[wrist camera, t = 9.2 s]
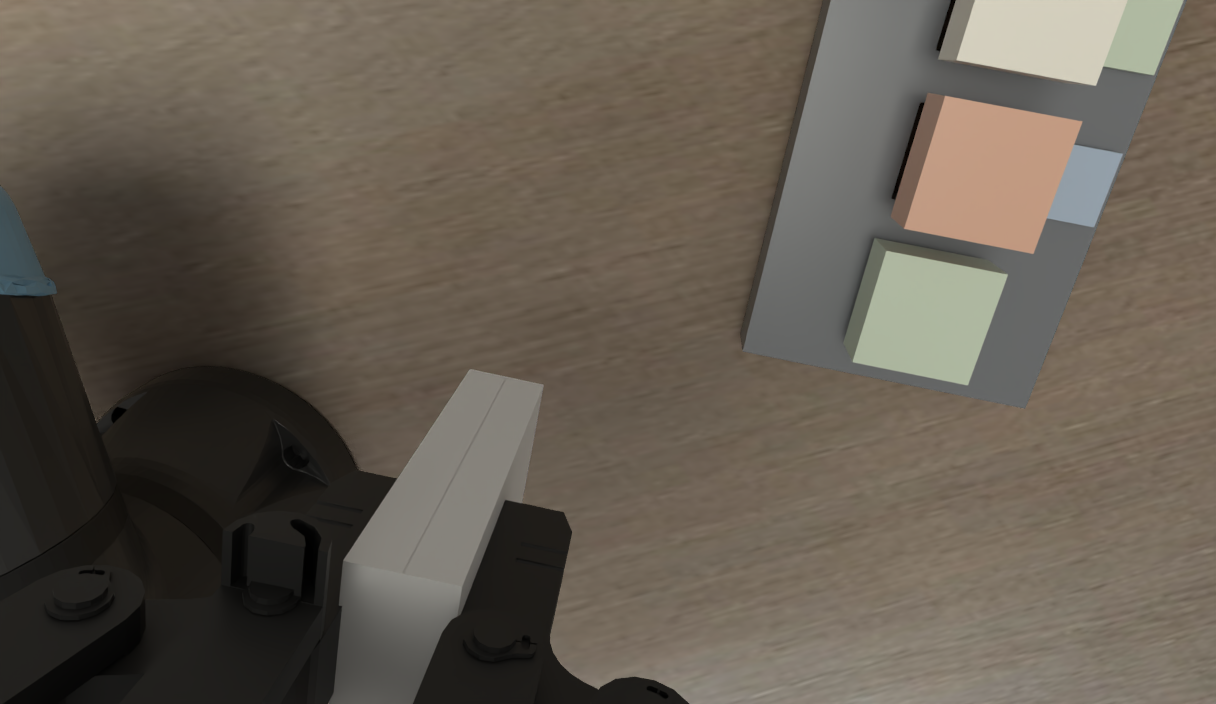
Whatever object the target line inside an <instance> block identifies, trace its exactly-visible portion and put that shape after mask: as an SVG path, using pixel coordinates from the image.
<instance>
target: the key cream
mask: <svg viewBox="0 0 1216 704" xmlns="http://www.w3.org/2000/svg"><path fill="white" fill-rule="evenodd" d="M1127 1H1128V0H956V1H955V5H954V8H953V11H952V14H951V18H950V21H949V24H948V28H947V31H946V34H945V38H944V41H943V44H942V48H941V51H940V54H939V58H938V60H944V61H949V62H954V63H960V64H965V65H971V66H976V67H981V68H987V69H992V70H998V71H1003V72H1008V73H1014V74H1019V75H1025V76H1030V77H1035V78H1041V79H1046V80H1052V81H1057V82H1062V83H1069V84H1080V85H1092V86H1096V84H1097V82H1098V79H1099V76H1100V74H1101V71H1102V68H1103V65H1104V63H1105V60H1106V57H1107V55H1108V52H1109V49H1110V47H1111V44H1112V41H1113V39H1114V36H1115V33H1116V31H1117V28H1118V25H1119V22H1120V20H1121V17H1122V14H1123V12H1124V9H1125V6H1126V4H1127Z"/></svg>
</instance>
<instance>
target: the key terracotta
mask: <svg viewBox="0 0 1216 704" xmlns="http://www.w3.org/2000/svg"><path fill="white" fill-rule="evenodd" d="M1082 122H1083V121H1077V120H1072V119H1067V118H1061V117H1056V116H1051V115H1045V114H1040V113H1035V112H1029V111H1024V110H1018V109H1013V108H1008V107H1002V106H997V105H992V104H986V103H981V102H976V101H970V100H965V99H960V98H954V97H949V96H944V95H938V94H933V93H928V94H927V97H926V101H925V104H924V107H923V111H922V114H921V117H920V120H919V124H918V127H917V130H916V134H915V137H914V140H913V144H912V147H911V150H910V154H909V157H908V160H907V164H906V167H905V170H904V173H903V177H902V180H901V183H900V187H899V190H898V193H897V197H896V200H895V203H894V207H893V210H892V213H891V218H892V219H894V220H895V221H896V222H897V223H898V224H899V225H900V226H902V227H903V228H904V229H908V230H913V231H918V232H923V233H928V234H933V235H938V236H944V237H949V238H954V239H959V240H964V241H969V242H974V243H980V244H985V245H990V246H995V247H1000V248H1005V249H1010V250H1016V251H1021V252H1026V253H1031V254H1034V251H1035V248H1036V246H1037V243H1038V240H1039V238H1040V235H1041V232H1042V230H1043V227H1044V224H1045V221H1046V219H1047V216H1048V213H1049V211H1050V208H1051V205H1052V203H1053V200H1054V197H1055V195H1056V192H1057V189H1058V187H1059V184H1060V181H1061V178H1062V176H1063V173H1064V170H1065V168H1066V165H1067V162H1068V160H1069V157H1070V154H1071V152H1072V149H1073V146H1074V143H1075V141H1076V138H1077V135H1078V133H1079V130H1080V127H1081V125H1082Z"/></svg>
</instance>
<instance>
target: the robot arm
mask: <svg viewBox="0 0 1216 704" xmlns="http://www.w3.org/2000/svg"><path fill="white" fill-rule="evenodd" d="M56 293H57V290H56V286H55V283H54V281H52V280H51V279H49V278H47V277H45V275H44V273H43V270H42V268H41V266H40V263H39V261H38V258H37V256H36V254H35V251H34V249H33V247H32V244H31V242H30V240H29V237H28V235H27V233H26V230H25V228H24V226H23V223H22V221H21V219H20V216H19V214H18V212H17V209H16V207H15V205H14V203H13V201H12V200H11V198H10V196H9V195H8V194H7V192H6V191H5V190H4V189H3V188H2V187H1V186H0V704H328V702H329V704H689V703H688V702H687V701H686V700H685V699H683V698H682V697H681V696H680V695H679V694H678V693H677V692H676V691H675V690H673V689H671V688H669V687H667V686H665V685H663V684H661V683H659V682H657V681H655V680H649V679H644V678H638V677H629V678H620V679H615V680H613V681H611V682H609V683H607V684H605V685H604V686H602V687H600V689H599V690H598V689H596V688H594V687H592V686H590V685H588V684H586V683H584V682H583V681H581V680H580V679H578V678H576V677H575V676H573V675H572V674H570V673H569V672H568V671H567V670H566V669H565V668H564V667H563V666H562V665H561V664H560V663H559V661H558V660H557V658H556V657H555V655H554V654H553V651H552V648H551V644H550V633H551V629H552V624H553V619H554V615H555V610H556V606H557V601H558V596H559V592H560V587H561V582H562V577H563V573H564V568H565V563H566V559H567V554H568V549H569V544H570V540H571V535H572V531H571V528H570V526H569V524H568V521H567V519H566V517H565V514H564V512H560V511H555V510H550V509H546V508H541V507H536V506H532V505H527V504H522V501H523V496H524V490H525V485H526V480H527V474H528V469H529V463H530V458H531V452H532V447H533V441H534V436H535V431H536V425H537V420H538V414H539V409H540V403H541V398H542V392H543V387H544V385H543V384H538V383H534V382H529V381H524V380H520V379H515V378H510V377H506V376H501V375H496V374H492V373H487V372H482V371H478V370H473V369H470V370H469V371H468V373H467V374H466V376H465V377H464V379H463V380H462V382H461V383H460V385H459V386H458V388H457V389H456V391H455V392H454V394H453V395H452V397H451V398H450V400H449V401H448V403H447V404H446V406H445V407H444V409H443V410H442V412H441V413H440V415H439V416H438V418H437V420H436V421H435V423H434V424H433V426H432V427H431V429H430V430H429V432H428V433H427V435H426V436H425V438H424V439H423V441H422V442H421V444H420V445H419V447H418V448H417V450H416V451H415V453H414V454H413V456H412V457H411V459H410V460H409V462H408V463H407V465H406V466H405V468H404V469H403V471H402V472H401V474H400V475H399V477H398V478H397V479H396V478H391V477H386V476H382V475H377V474H373V473H368V472H363V471H359V470H356V468H355V465H354V463H353V461H352V459H351V456H350V455H349V453H348V451H347V449H346V447H345V446H344V444H343V443H342V441H341V440H340V438H339V437H338V435H337V434H336V433H335V431H334V430H333V429H332V428H331V426H330V425H329V424H328V423H327V422H326V421H325V420H324V419H323V418H322V417H321V416H320V415H319V414H318V413H317V412H316V411H315V410H314V409H313V408H312V407H311V406H309V405H308V404H307V403H306V402H304V401H303V400H302V399H300V398H299V397H298V396H296V395H295V394H293V393H292V392H290V391H288V390H287V389H285V388H283V387H281V386H280V385H278V384H276V383H274V382H271V381H269V380H267V379H265V378H262V377H260V376H257V375H254V374H251V373H248V372H244V371H240V370H235V369H230V368H222V367H192V368H185V369H181V370H176V371H173V372H170V373H167V374H164V375H162V376H159V377H157V378H155V379H153V380H152V381H150V382H148V383H147V384H145V385H143V386H142V387H140V388H138V389H137V390H135V391H133V392H132V393H130V394H128V395H127V396H125V397H124V398H122V399H121V400H120V401H118V402H117V403H116V404H115V405H114V406H113V407H111V408H110V409H109V410H108V411H107V412H106V413H105V414H104V415H103V417H102V418H101V419H100V420H99V422H98V423H97V424H96V421H95V418H94V415H93V413H92V410H91V407H90V404H89V401H88V398H87V395H86V393H85V390H84V387H83V384H82V381H81V378H80V375H79V373H78V370H77V367H76V364H75V361H74V358H73V355H72V352H71V350H70V347H69V344H68V341H67V338H66V335H65V332H64V330H63V327H62V324H61V321H60V318H59V315H58V312H57V310H56V307H55V304H54V301H53V298H52V295H51V294H56Z"/></svg>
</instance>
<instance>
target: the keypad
mask: <svg viewBox="0 0 1216 704" xmlns="http://www.w3.org/2000/svg"><path fill="white" fill-rule="evenodd" d="M950 1H951V0H823V3H822V7H821V11H820V15H819V19H818V23H817V27H816V31H815V35H814V39H813V43H812V48H811V52H810V56H809V60H808V64H807V68H806V72H805V76H804V80H803V84H802V88H801V92H800V96H799V100H798V104H797V108H796V112H795V116H794V120H793V124H792V128H791V132H790V136H789V140H788V144H787V148H786V152H785V156H784V160H783V164H782V169H781V173H780V177H779V181H778V185H777V189H776V193H775V197H774V201H773V205H772V209H771V213H770V217H769V221H768V225H767V229H766V233H765V237H764V241H763V245H762V249H761V253H760V257H759V261H758V265H757V269H756V273H755V277H754V281H753V285H752V290H751V294H750V298H749V302H748V306H747V310H746V314H745V318H744V322H743V326H742V330H741V342H742V350H743V352H748V353H753V354H758V355H763V356H768V357H773V358H778V359H782V360H787V361H792V362H797V363H802V364H807V365H812V366H817V367H822V368H827V369H832V370H837V371H842V372H847V373H852V374H857V375H862V376H866V377H871V378H876V379H881V380H886V381H891V382H896V383H901V384H906V385H911V386H916V387H921V388H926V389H931V390H936V391H941V392H945V393H950V394H955V395H960V396H965V397H970V398H975V399H980V400H985V401H990V402H995V403H1000V404H1005V405H1010V406H1015V407H1020V408H1026V405H1027V403H1028V400H1029V398H1030V395H1031V393H1032V390H1033V387H1034V385H1035V382H1036V380H1037V377H1038V375H1039V372H1040V370H1041V367H1042V365H1043V362H1044V360H1045V357H1046V355H1047V352H1048V350H1049V347H1050V345H1051V342H1052V339H1053V337H1054V334H1055V332H1056V329H1057V327H1058V324H1059V322H1060V319H1061V317H1062V314H1063V312H1064V309H1065V307H1066V304H1067V302H1068V299H1069V297H1070V294H1071V291H1072V289H1073V286H1074V284H1075V281H1076V279H1077V276H1078V274H1079V271H1080V269H1081V266H1082V264H1083V261H1084V259H1085V256H1086V254H1087V251H1088V249H1089V246H1090V244H1091V241H1092V238H1093V236H1094V233H1095V231H1096V228H1097V226H1098V223H1099V221H1100V218H1101V216H1102V213H1103V211H1104V208H1105V206H1106V203H1107V201H1108V198H1109V196H1110V193H1111V190H1112V188H1113V185H1114V183H1115V180H1116V178H1117V175H1118V173H1119V170H1120V168H1121V165H1122V163H1123V160H1124V158H1125V155H1126V153H1127V150H1128V148H1129V145H1130V142H1131V140H1132V137H1133V135H1134V132H1135V130H1136V127H1137V125H1138V122H1139V120H1140V117H1141V115H1142V112H1143V110H1144V107H1145V105H1146V102H1147V100H1148V97H1149V94H1150V92H1151V89H1152V87H1153V84H1154V82H1155V79H1156V77H1157V74H1158V72H1159V69H1160V67H1161V64H1162V62H1163V59H1164V57H1165V54H1166V52H1167V49H1168V46H1169V44H1170V41H1171V39H1172V36H1173V34H1174V31H1175V29H1176V26H1177V24H1178V21H1179V19H1180V16H1181V14H1182V11H1183V9H1184V6H1185V4H1186V1H1187V0H1128V1H1127V4H1126V6H1125V9H1124V12H1123V14H1122V17H1121V20H1120V22H1119V25H1118V28H1117V31H1116V33H1115V36H1114V39H1113V41H1112V44H1111V47H1110V49H1109V52H1108V55H1107V57H1106V60H1105V63H1104V65H1103V68H1102V71H1101V74H1100V76H1099V79H1098V82H1097V84H1096V86H1092V85H1080V84H1069V83H1062V82H1057V81H1052V80H1046V79H1041V78H1035V77H1030V76H1025V75H1019V74H1014V73H1008V72H1003V71H998V70H992V69H987V68H981V67H976V66H971V65H965V64H960V63H954V62H949V61H944V60H938V58H939V54H940V51H937V50H936V48H937V44H938V41H939V38H940V34H941V31H942V28H943V24H944V21H945V18H946V14H947V11H948V8H949V4H950ZM928 93H933V94H938V95H944V96H949V97H954V98H960V99H965V100H970V101H976V102H981V103H986V104H992V105H997V106H1002V107H1008V108H1013V109H1018V110H1024V111H1029V112H1035V113H1040V114H1045V115H1051V116H1056V117H1061V118H1067V119H1072V120H1077V121H1083V122H1082V125H1081V127H1080V130H1079V133H1078V135H1077V138H1076V141H1075V143H1074V146H1073V149H1072V152H1071V154H1070V157H1069V160H1068V162H1067V165H1066V168H1065V170H1064V173H1063V176H1062V178H1061V181H1060V184H1059V187H1058V189H1057V192H1056V195H1055V197H1054V200H1053V203H1052V205H1051V208H1050V211H1049V213H1048V216H1047V219H1046V221H1045V224H1044V227H1043V230H1042V232H1041V235H1040V238H1039V240H1038V243H1037V246H1036V248H1035V251H1034V254H1031V253H1026V252H1021V251H1016V250H1010V249H1005V248H1000V247H995V246H990V245H985V244H980V243H974V242H969V241H964V240H959V239H954V238H949V237H944V236H938V235H933V234H928V233H923V232H918V231H913V230H908V229H904V228H903V227H902V226H900V225H899V224H898V223H897V222H896V221H895V220H894V219H892V218H891V213H892V210H893V207H894V203H895V200H896V197H897V193H893V191H894V188H895V184H896V181H897V178H898V174H899V171H900V168H901V164H902V161H903V158H904V154H905V151H906V148H907V144H908V141H909V138H910V134H911V131H912V128H913V124H914V121H915V118H916V114H917V111H918V108H919V104H920V102H923V103H925V101H926V97H927V94H928ZM874 238H878V239H883V240H888V241H893V242H898V243H903V244H908V245H914V246H919V247H924V248H929V249H934V250H939V251H944V252H949V253H955V254H960V255H965V256H970V257H975V258H980V259H985V260H989V261H990V262H992V263H993V264H994V265H996V266H997V267H998V268H1000V269H1001V270H1003V271H1004V272H1005V273H1007V274H1008V276H1007V279H1006V282H1005V285H1004V287H1003V290H1002V293H1001V296H1000V298H999V301H998V304H997V307H996V309H995V312H994V315H993V318H992V320H991V323H990V326H989V329H988V331H987V334H986V337H985V340H984V342H983V345H982V348H981V351H980V353H979V356H978V359H977V362H976V364H975V367H974V370H973V373H972V375H971V378H970V381H969V384H968V385H963V384H958V383H953V382H948V381H943V380H938V379H933V378H928V377H923V376H919V375H914V374H909V373H904V372H899V371H894V370H889V369H884V368H879V367H874V366H869V365H864V364H859V363H854V362H852V360H851V358H850V356H849V354H848V352H847V350H846V348H845V346H844V343H843V342H844V339H845V335H846V332H847V329H848V325H849V322H850V319H851V315H852V312H853V309H854V305H855V302H856V298H857V295H858V292H859V288H860V285H861V282H862V278H863V275H864V272H865V268H866V265H867V262H868V258H869V255H870V251H871V248H872V245H873V241H874Z"/></svg>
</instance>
